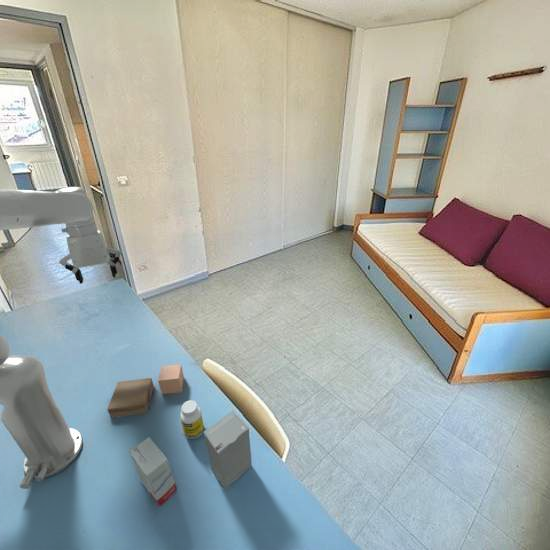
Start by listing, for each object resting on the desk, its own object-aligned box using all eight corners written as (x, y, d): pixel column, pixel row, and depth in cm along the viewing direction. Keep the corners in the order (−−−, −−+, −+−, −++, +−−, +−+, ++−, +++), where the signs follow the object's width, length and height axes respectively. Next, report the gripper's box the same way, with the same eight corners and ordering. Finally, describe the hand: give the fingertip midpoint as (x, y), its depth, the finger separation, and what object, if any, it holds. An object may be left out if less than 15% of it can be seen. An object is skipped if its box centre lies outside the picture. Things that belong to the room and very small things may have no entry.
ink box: (178, 490, 70) (169, 459, 65) (158, 508, 67) (147, 478, 62) (159, 465, 75) (149, 435, 70) (140, 480, 72) (128, 450, 67)
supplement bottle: (184, 442, 81) (178, 417, 76) (183, 424, 85) (178, 400, 80) (204, 436, 82) (200, 412, 77) (203, 419, 86) (199, 395, 82)
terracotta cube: (181, 392, 95) (178, 378, 92) (161, 394, 94) (158, 380, 92) (183, 377, 100) (181, 364, 97) (165, 379, 100) (161, 366, 97)
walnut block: (147, 413, 89) (144, 404, 87) (110, 418, 87) (107, 409, 86) (153, 386, 97) (151, 377, 96) (121, 390, 96) (117, 381, 94)
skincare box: (237, 447, 79) (232, 406, 72) (254, 468, 74) (251, 427, 67) (209, 470, 74) (200, 428, 67) (225, 494, 69) (218, 452, 62)
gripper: (46, 237, 86) (66, 289, 94) (113, 229, 92) (127, 278, 100) (51, 229, 92) (69, 279, 100) (114, 222, 98) (126, 269, 107)
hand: (98, 278), depth 100 cm, fingers open, 9 cm apart
